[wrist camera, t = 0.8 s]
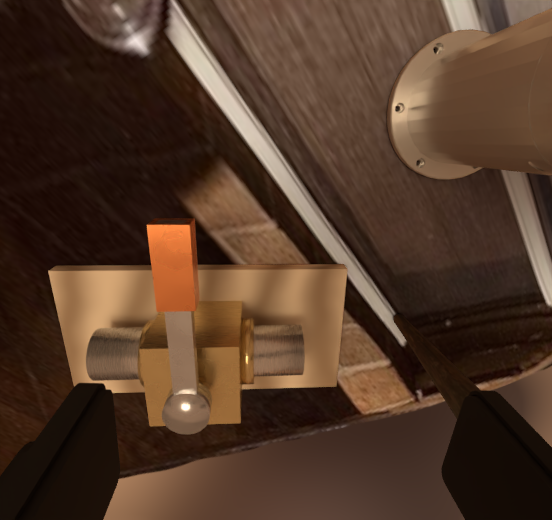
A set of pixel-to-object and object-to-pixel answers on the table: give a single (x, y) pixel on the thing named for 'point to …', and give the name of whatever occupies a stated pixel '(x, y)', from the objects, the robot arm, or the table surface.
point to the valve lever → (179, 320)
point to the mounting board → (212, 287)
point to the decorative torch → (437, 366)
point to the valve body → (199, 357)
